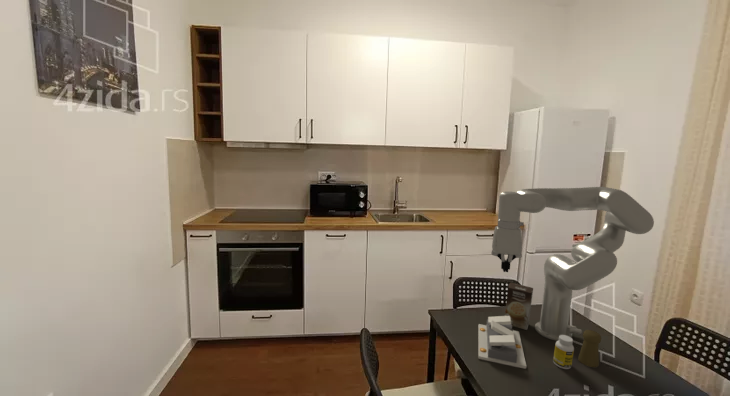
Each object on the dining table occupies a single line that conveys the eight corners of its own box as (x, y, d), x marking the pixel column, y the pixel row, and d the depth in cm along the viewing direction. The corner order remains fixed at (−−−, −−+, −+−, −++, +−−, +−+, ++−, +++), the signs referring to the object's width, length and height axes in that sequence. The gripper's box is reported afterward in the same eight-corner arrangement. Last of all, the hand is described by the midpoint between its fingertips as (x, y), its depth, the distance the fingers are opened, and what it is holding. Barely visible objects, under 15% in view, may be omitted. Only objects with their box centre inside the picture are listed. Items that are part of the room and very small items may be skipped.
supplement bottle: (565, 371, 109) (568, 344, 107) (549, 361, 114) (552, 335, 112) (574, 366, 112) (578, 340, 110) (559, 357, 116) (562, 331, 115)
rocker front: (514, 340, 116) (513, 335, 116) (515, 347, 112) (514, 342, 112) (490, 340, 119) (489, 335, 118) (490, 347, 114) (489, 342, 114)
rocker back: (510, 320, 129) (509, 315, 129) (511, 326, 125) (510, 321, 125) (489, 321, 132) (488, 316, 132) (489, 327, 128) (488, 322, 127)
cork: (602, 368, 111) (607, 338, 109) (582, 365, 112) (586, 335, 110) (593, 357, 117) (598, 328, 115) (574, 354, 118) (579, 326, 116)
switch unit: (518, 333, 130) (519, 323, 130) (526, 368, 110) (527, 356, 109) (478, 326, 135) (479, 316, 134) (478, 358, 115) (479, 346, 114)
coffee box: (503, 323, 138) (506, 287, 135) (505, 317, 143) (509, 281, 140) (527, 330, 133) (531, 293, 130) (529, 323, 138) (533, 287, 136)
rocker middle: (510, 335, 123) (513, 331, 122) (511, 342, 119) (514, 338, 118) (489, 324, 125) (492, 320, 124) (490, 330, 121) (492, 326, 120)
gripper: (528, 223, 127) (524, 269, 130) (486, 221, 131) (484, 265, 134) (532, 228, 120) (528, 276, 123) (488, 225, 124) (485, 272, 127)
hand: (505, 270), depth 128 cm, fingers closed
